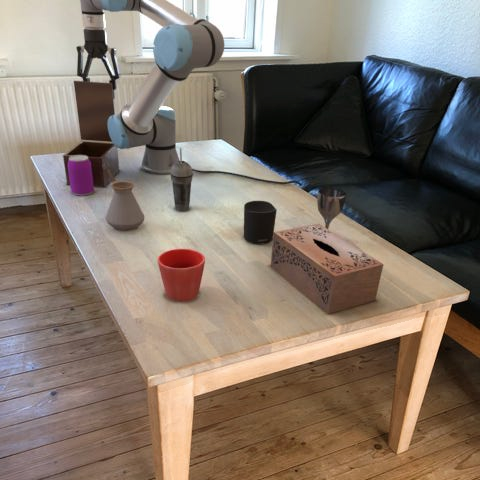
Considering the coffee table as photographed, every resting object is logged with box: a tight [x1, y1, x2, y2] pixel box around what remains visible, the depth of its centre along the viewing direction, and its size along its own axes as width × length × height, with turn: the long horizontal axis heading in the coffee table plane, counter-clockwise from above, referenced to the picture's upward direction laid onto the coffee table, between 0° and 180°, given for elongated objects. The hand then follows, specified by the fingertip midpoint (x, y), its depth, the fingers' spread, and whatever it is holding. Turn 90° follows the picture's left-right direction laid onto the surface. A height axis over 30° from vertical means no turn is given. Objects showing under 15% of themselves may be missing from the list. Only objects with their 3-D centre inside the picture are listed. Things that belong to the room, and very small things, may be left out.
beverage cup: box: [169, 147, 194, 212], centre depth 164 cm, size 7×7×20 cm
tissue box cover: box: [270, 223, 384, 315], centre depth 129 cm, size 26×14×10 cm, turn 29°
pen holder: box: [243, 200, 278, 245], centre depth 150 cm, size 9×9×10 cm
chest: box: [62, 140, 120, 188], centre depth 187 cm, size 19×14×10 cm
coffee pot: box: [102, 163, 145, 232], centre depth 154 cm, size 21×12×15 cm, turn 30°
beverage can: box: [68, 155, 95, 197], centre depth 174 cm, size 8×8×12 cm
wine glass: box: [316, 186, 347, 230], centre depth 149 cm, size 8×8×15 cm
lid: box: [73, 80, 116, 143], centre depth 189 cm, size 20×14×7 cm
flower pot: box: [157, 248, 206, 303], centre depth 121 cm, size 11×11×10 cm
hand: (101, 98), depth 191 cm, fingers open, 8 cm apart
